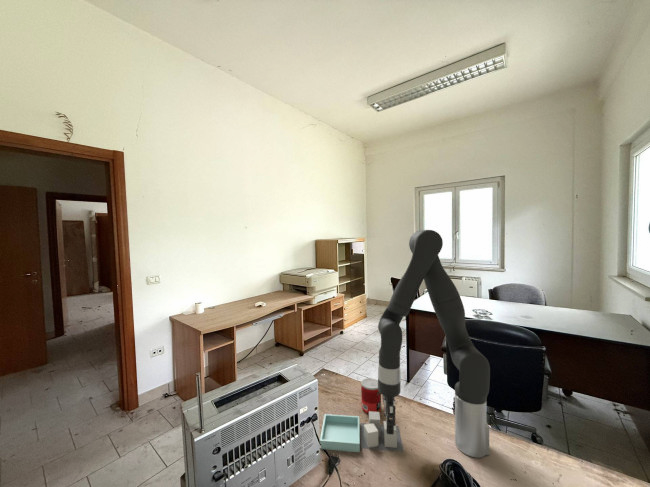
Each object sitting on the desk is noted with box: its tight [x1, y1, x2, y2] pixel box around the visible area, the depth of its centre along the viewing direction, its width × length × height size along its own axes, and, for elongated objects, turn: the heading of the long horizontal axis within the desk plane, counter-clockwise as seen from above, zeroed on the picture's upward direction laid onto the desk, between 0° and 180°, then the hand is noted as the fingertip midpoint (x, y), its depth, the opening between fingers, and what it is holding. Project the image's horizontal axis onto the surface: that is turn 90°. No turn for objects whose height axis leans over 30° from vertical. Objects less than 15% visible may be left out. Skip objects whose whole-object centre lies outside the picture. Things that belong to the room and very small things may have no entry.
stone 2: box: [364, 423, 378, 448], centre depth 90 cm, size 4×4×5 cm
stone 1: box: [368, 411, 381, 437], centre depth 95 cm, size 4×4×6 cm
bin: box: [319, 413, 361, 453], centre depth 93 cm, size 13×13×3 cm
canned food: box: [360, 377, 382, 415], centre depth 107 cm, size 8×8×11 cm
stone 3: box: [382, 420, 397, 448], centre depth 89 cm, size 4×4×6 cm
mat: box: [359, 422, 405, 453], centre depth 92 cm, size 14×12×1 cm
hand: (388, 424), depth 89 cm, fingers open, 8 cm apart
